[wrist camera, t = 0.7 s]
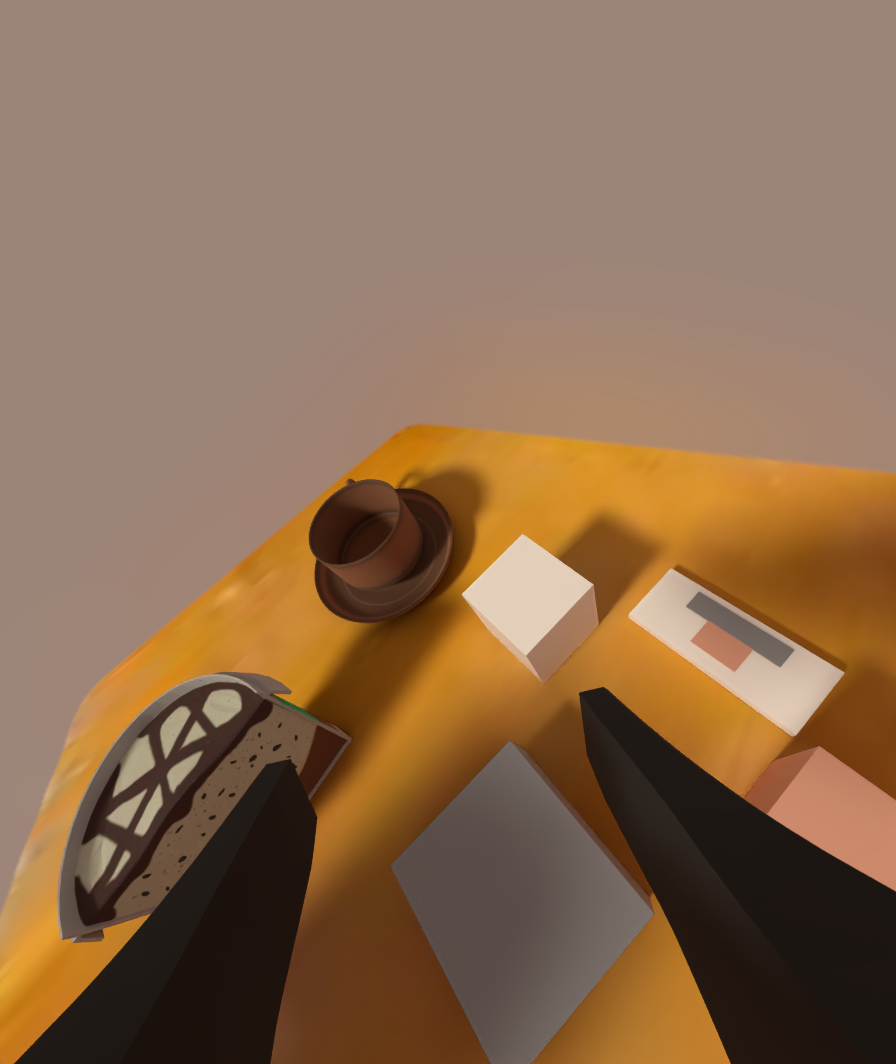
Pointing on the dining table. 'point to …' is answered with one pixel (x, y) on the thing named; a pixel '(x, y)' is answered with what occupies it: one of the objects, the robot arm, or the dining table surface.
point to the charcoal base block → (519, 904)
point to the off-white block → (535, 606)
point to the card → (737, 651)
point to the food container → (178, 791)
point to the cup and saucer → (378, 550)
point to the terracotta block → (832, 810)
